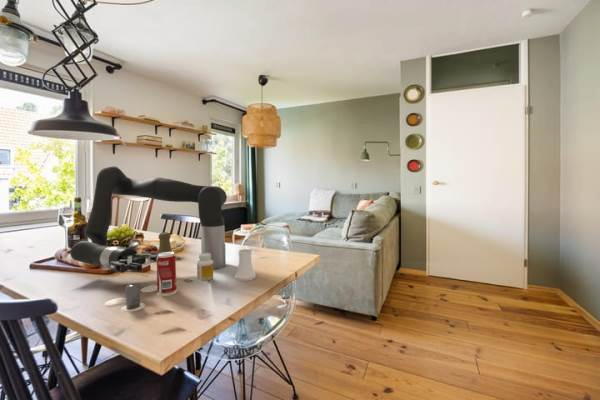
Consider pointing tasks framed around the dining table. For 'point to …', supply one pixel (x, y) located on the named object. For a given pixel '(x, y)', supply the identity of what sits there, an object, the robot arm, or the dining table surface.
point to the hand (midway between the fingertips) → (153, 264)
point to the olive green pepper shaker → (164, 242)
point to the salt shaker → (245, 266)
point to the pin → (132, 296)
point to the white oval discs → (123, 300)
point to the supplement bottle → (205, 267)
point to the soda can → (166, 273)
